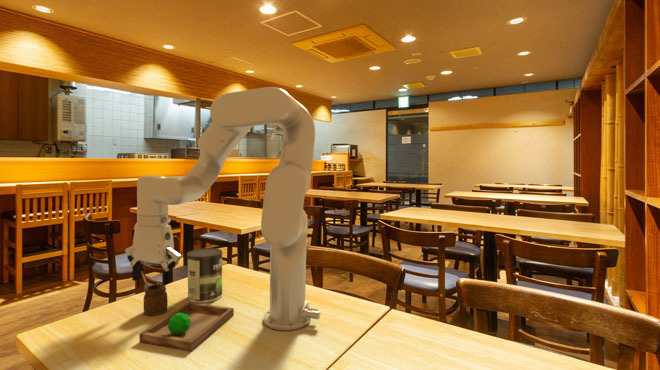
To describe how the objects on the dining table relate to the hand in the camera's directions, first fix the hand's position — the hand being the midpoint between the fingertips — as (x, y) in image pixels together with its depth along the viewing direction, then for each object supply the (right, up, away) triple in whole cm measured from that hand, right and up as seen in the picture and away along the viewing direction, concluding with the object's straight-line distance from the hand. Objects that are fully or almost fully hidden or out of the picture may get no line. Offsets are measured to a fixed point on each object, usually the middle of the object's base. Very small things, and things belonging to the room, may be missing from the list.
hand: (152, 281), depth 93 cm
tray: (+14, -10, -8) cm, 19 cm away
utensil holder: (0, -9, +1) cm, 9 cm away
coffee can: (+10, -8, +12) cm, 18 cm away
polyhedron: (+13, -9, -12) cm, 20 cm away
